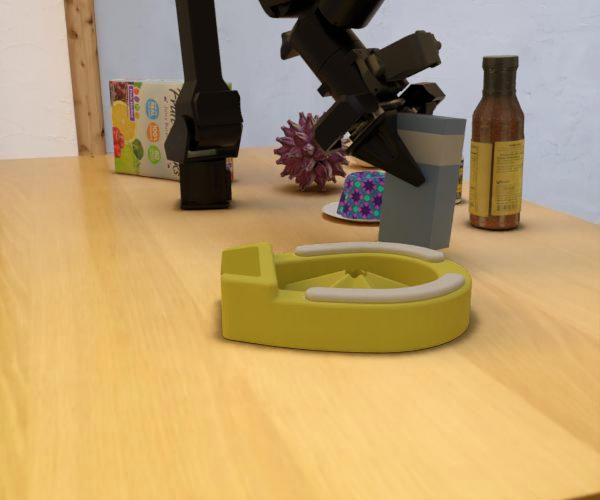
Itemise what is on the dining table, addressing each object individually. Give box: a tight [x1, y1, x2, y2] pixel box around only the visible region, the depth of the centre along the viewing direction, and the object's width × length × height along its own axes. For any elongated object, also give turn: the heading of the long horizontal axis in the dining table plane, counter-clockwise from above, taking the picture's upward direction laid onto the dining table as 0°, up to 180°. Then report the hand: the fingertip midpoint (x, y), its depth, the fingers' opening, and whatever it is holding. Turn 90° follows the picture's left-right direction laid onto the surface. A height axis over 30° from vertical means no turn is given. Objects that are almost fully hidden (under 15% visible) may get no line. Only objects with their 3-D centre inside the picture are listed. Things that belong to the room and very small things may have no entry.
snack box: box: [108, 78, 235, 182], centre depth 125 cm, size 21×6×15 cm, turn 58°
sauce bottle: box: [468, 54, 526, 230], centre depth 94 cm, size 7×6×20 cm
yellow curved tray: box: [220, 241, 473, 354], centre depth 67 cm, size 16×21×5 cm
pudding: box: [321, 170, 385, 223], centre depth 101 cm, size 12×12×5 cm
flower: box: [272, 110, 351, 192], centre depth 116 cm, size 12×12×12 cm
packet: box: [377, 113, 467, 251], centre depth 80 cm, size 6×4×13 cm
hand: (433, 180), depth 79 cm, fingers closed on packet, 5 cm apart
